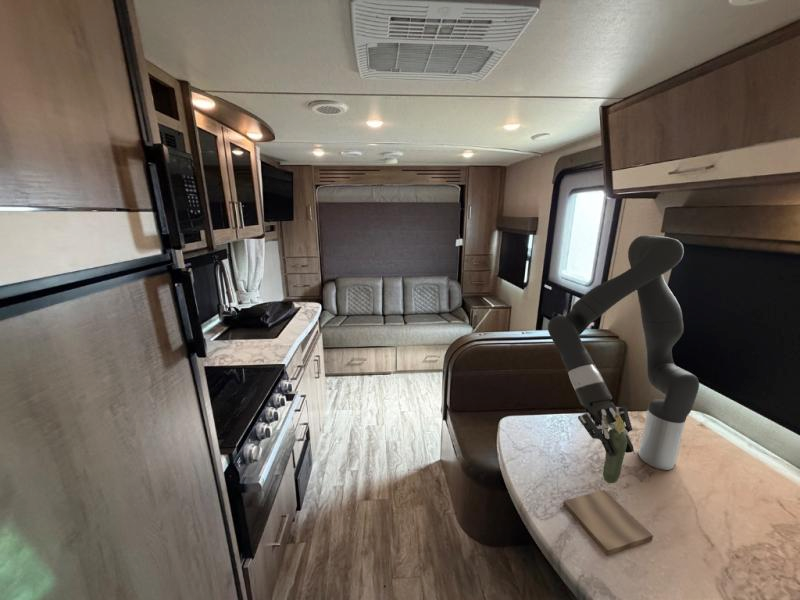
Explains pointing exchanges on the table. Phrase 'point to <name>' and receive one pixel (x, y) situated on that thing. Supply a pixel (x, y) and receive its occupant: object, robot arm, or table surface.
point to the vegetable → (620, 443)
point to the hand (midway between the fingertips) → (622, 453)
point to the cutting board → (607, 522)
